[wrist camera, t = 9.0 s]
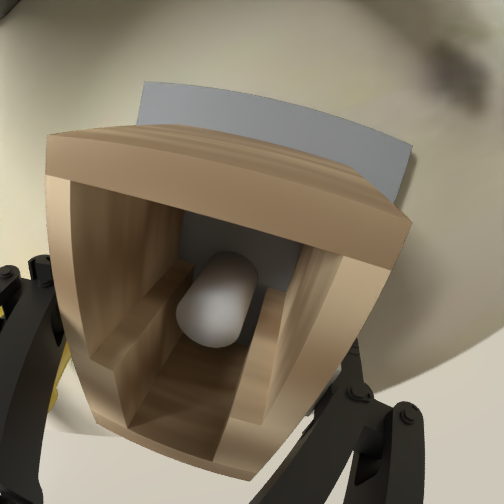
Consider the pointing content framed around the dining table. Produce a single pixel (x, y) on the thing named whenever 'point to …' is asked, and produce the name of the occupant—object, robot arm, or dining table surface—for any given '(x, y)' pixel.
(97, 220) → the slotted block
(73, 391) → the dining table surface
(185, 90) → the board
